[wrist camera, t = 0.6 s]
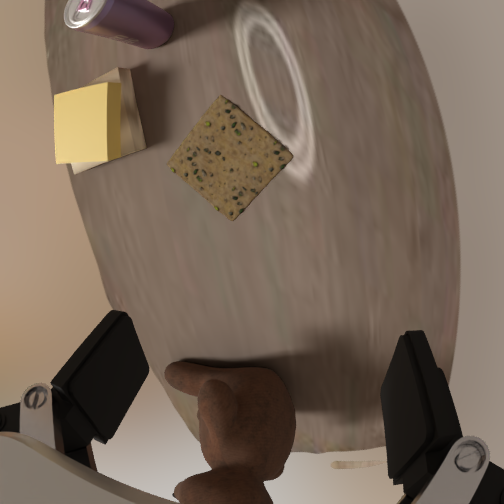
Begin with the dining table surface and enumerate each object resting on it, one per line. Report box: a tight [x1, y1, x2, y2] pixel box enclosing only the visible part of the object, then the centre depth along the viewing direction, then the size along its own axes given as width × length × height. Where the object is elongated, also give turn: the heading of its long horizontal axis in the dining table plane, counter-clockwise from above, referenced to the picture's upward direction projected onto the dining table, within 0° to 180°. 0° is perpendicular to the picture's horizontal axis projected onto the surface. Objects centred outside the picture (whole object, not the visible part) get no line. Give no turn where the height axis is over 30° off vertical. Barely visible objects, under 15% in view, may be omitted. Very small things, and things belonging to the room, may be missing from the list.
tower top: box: [54, 82, 121, 164], centre depth 31 cm, size 10×10×3 cm
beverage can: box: [64, 0, 174, 49], centre depth 22 cm, size 6×6×15 cm
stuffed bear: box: [164, 361, 296, 504], centre depth 37 cm, size 29×23×35 cm
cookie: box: [167, 95, 293, 221], centre depth 35 cm, size 12×12×1 cm
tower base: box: [71, 67, 147, 175], centre depth 34 cm, size 12×12×3 cm
